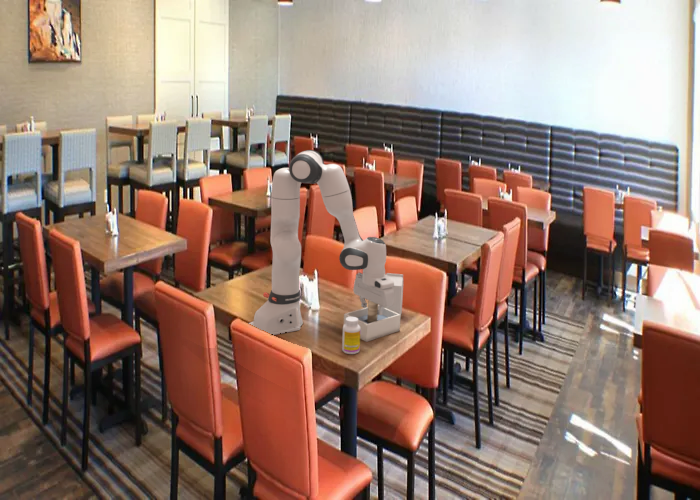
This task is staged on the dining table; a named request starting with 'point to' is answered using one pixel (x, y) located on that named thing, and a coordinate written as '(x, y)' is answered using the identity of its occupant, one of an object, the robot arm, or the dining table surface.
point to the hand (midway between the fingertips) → (371, 310)
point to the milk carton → (397, 292)
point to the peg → (372, 312)
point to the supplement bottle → (351, 336)
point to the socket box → (375, 323)
